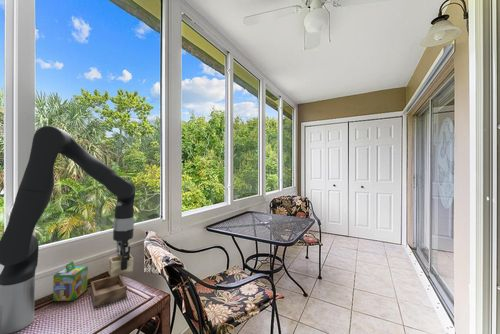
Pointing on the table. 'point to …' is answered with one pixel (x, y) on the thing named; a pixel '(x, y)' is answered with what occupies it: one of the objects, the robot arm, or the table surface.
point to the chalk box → (70, 283)
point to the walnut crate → (108, 290)
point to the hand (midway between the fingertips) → (122, 266)
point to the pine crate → (119, 266)
